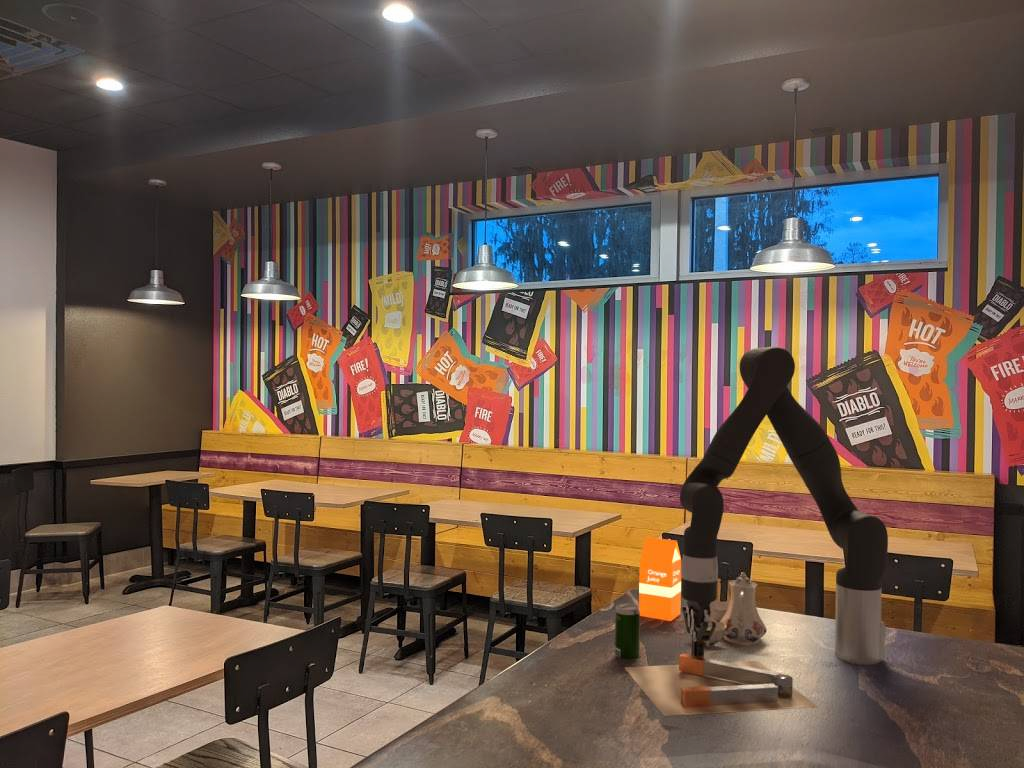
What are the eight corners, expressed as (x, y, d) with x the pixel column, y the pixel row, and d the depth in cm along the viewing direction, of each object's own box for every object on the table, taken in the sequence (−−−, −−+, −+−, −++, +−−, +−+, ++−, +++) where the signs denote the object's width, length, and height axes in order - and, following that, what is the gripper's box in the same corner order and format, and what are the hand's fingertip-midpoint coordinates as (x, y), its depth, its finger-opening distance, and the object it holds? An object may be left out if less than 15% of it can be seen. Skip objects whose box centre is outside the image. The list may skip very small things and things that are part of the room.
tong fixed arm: (772, 697, 152) (773, 682, 152) (778, 702, 150) (778, 686, 150) (680, 703, 149) (680, 687, 149) (684, 707, 147) (684, 691, 147)
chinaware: (701, 623, 208) (696, 560, 208) (768, 624, 202) (762, 558, 203) (689, 659, 181) (683, 586, 181) (766, 661, 176) (759, 585, 176)
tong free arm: (795, 691, 154) (795, 674, 154) (790, 698, 151) (790, 681, 151) (682, 668, 166) (682, 652, 166) (675, 674, 162) (675, 658, 162)
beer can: (626, 667, 171) (626, 611, 171) (609, 659, 176) (610, 605, 175) (644, 662, 174) (645, 607, 174) (628, 655, 179) (628, 601, 178)
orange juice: (670, 621, 204) (672, 543, 204) (638, 615, 208) (639, 539, 208) (680, 613, 211) (681, 538, 210) (649, 608, 215) (650, 534, 215)
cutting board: (758, 667, 172) (758, 660, 172) (818, 714, 148) (818, 706, 148) (624, 674, 167) (624, 667, 167) (663, 724, 143) (664, 715, 143)
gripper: (729, 584, 162) (727, 668, 163) (703, 568, 175) (702, 646, 176) (694, 584, 161) (692, 670, 161) (671, 569, 174) (669, 647, 174)
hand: (697, 657), depth 169 cm, fingers closed
